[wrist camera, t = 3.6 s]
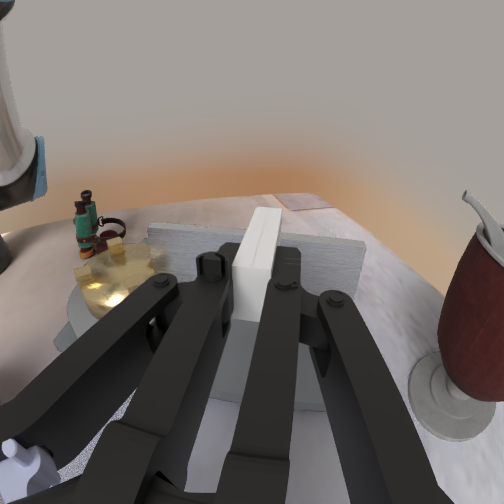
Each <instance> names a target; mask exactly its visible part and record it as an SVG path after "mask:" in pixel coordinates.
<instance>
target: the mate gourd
mask: <svg viewBox="0 0 504 504" xmlns="http://www.w3.org/2000/svg"><path fill="white" fill-rule="evenodd" d="M462 200H464V201H465V202H467V203H469V204H470V205H471V206H472V207H473V208H474V209H475V210H476V212H477V213H478V214H479V216H480V218H481V219H482V223H480V224H479V225H478V226H477V229H476V232H475V234H474V236H473V237H472V239H471V240H470V242H469V244H468V246H467V248H466V250H465V252H464V254H463V256H462V257H461V259H460V261H459V263H458V266H457V268H456V271H455V273H454V276H453V278H452V281H451V283H450V286H449V288H448V291H447V294H446V297H445V301H444V304H443V307H442V311H441V315H440V320H439V324H438V331H437V335H438V344H439V348H440V351H439V352H434V353H431V354H429V355H427V356H425V357H424V358H422V359H421V360H420V361H419V362H418V364H417V365H416V366H415V368H414V370H413V372H412V373H411V375H410V379H409V382H408V396H409V402H410V405H411V408H412V411H413V412H414V414H415V416H416V418H417V420H418V421H419V422H420V423H421V424H422V426H423V427H424V428H425V429H427V430H428V431H429V432H430V433H431V434H433V435H435V436H437V437H438V438H440V439H443V440H447V441H452V442H461V441H467V440H469V439H472V438H474V437H476V436H477V435H478V434H480V433H481V432H482V431H483V430H485V429H486V427H487V426H488V425H489V424H490V422H491V420H492V418H493V416H494V412H495V408H496V402H500V401H504V225H503V224H500V223H498V222H497V221H496V219H495V218H494V217H493V216H492V214H491V213H490V212H489V211H488V210H487V209H486V208H485V206H484V205H483V204H482V203H481V202H480V201H479V200H478V199H477V198H476V197H474V196H473V195H472V194H471V193H470V192H469V191H467V190H466V191H465V192H464V194H463V196H462Z"/></svg>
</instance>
